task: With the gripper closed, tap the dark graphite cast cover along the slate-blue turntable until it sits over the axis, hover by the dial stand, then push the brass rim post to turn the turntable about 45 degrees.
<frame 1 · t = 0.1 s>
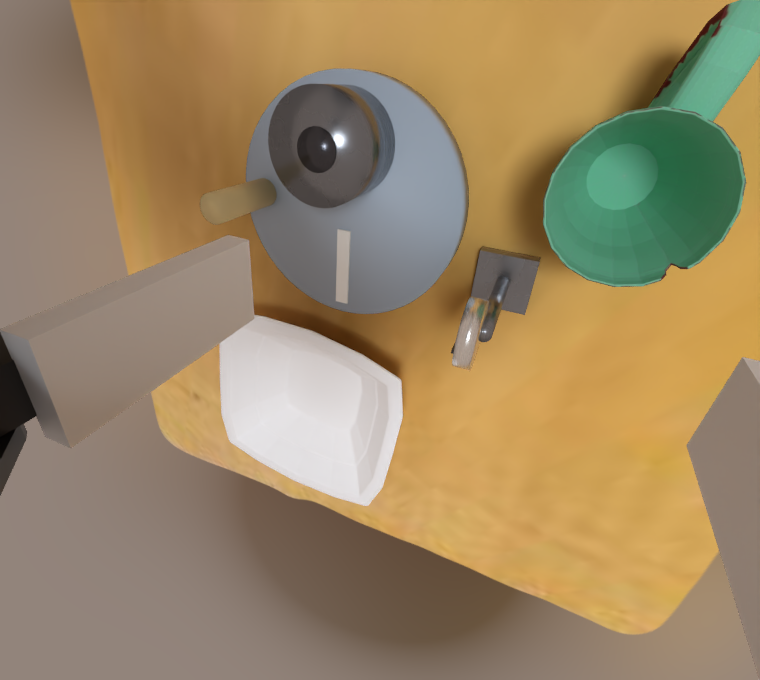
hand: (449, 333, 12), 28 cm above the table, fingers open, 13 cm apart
bowl: (325, 387, 54), on the table
cover: (347, 143, 34), point 4 cm above the table, touching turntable
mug: (640, 143, 31), on the table
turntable: (333, 212, 35), point 7 cm above the table, hinge at 0.0°, touching cover
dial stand: (504, 278, 39), on the table
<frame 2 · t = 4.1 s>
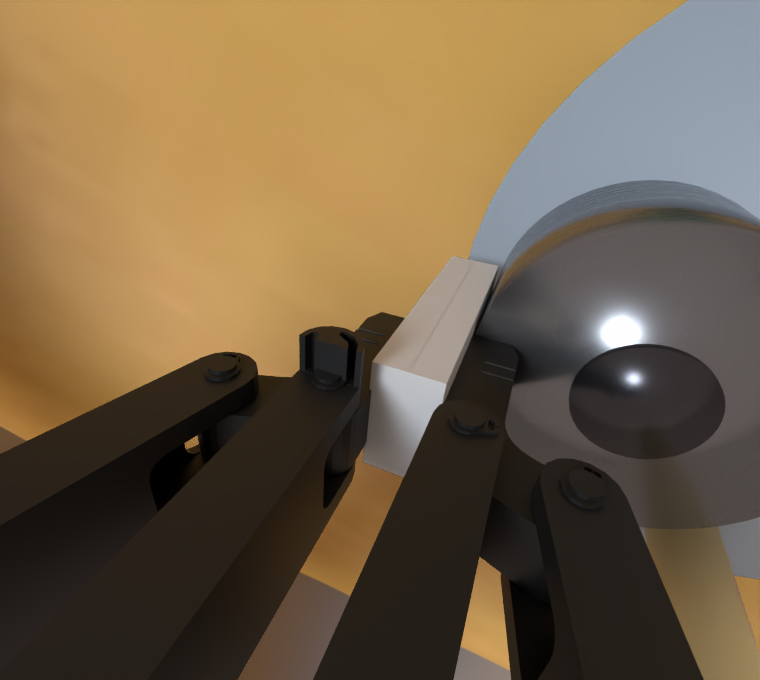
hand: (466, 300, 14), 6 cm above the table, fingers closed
cover: (622, 311, 14), point 4 cm above the table, touching gripper, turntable
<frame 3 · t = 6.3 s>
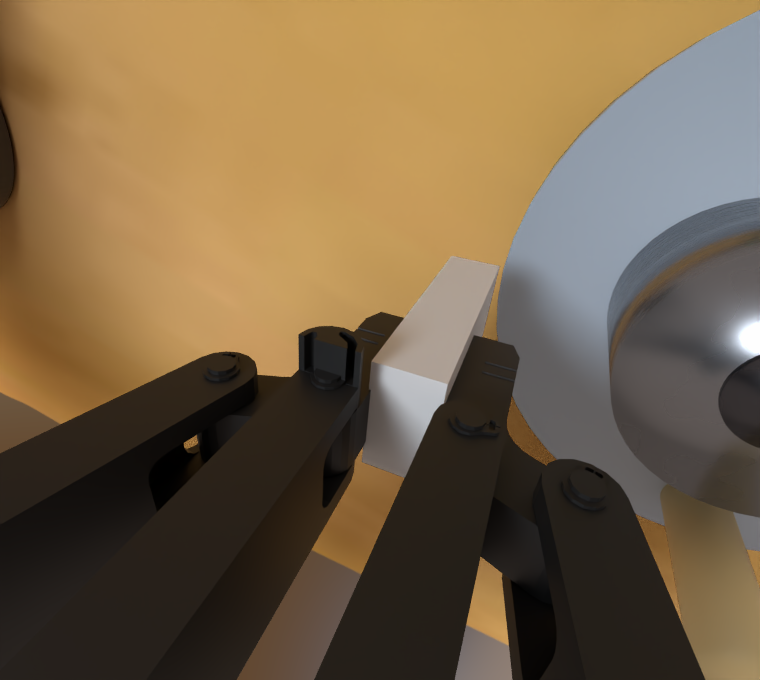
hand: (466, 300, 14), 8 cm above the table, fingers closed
cover: (739, 318, 15), point 4 cm above the table, touching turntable
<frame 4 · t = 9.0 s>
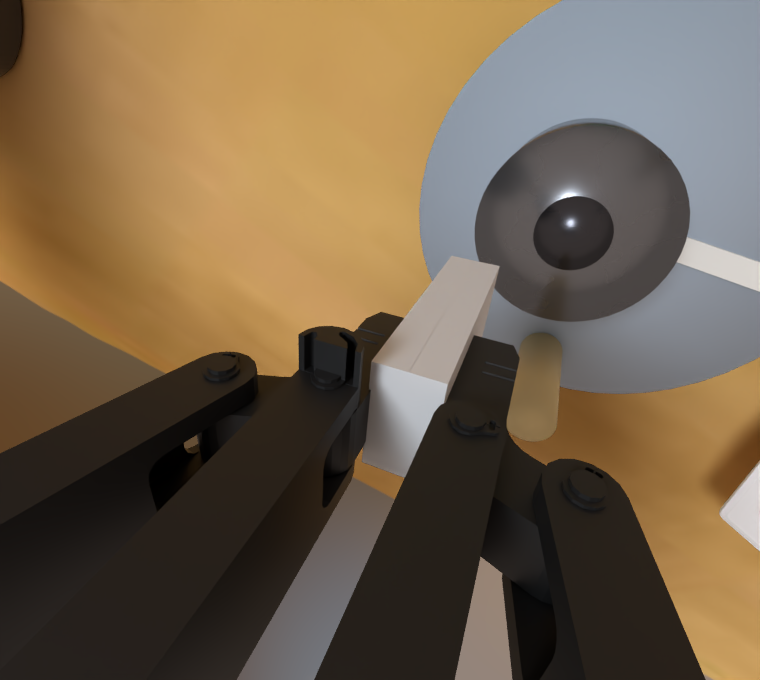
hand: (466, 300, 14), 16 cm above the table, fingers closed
cover: (574, 207, 22), point 4 cm above the table, touching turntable
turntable: (614, 236, 20), point 7 cm above the table, hinge at -0.2°, touching cover
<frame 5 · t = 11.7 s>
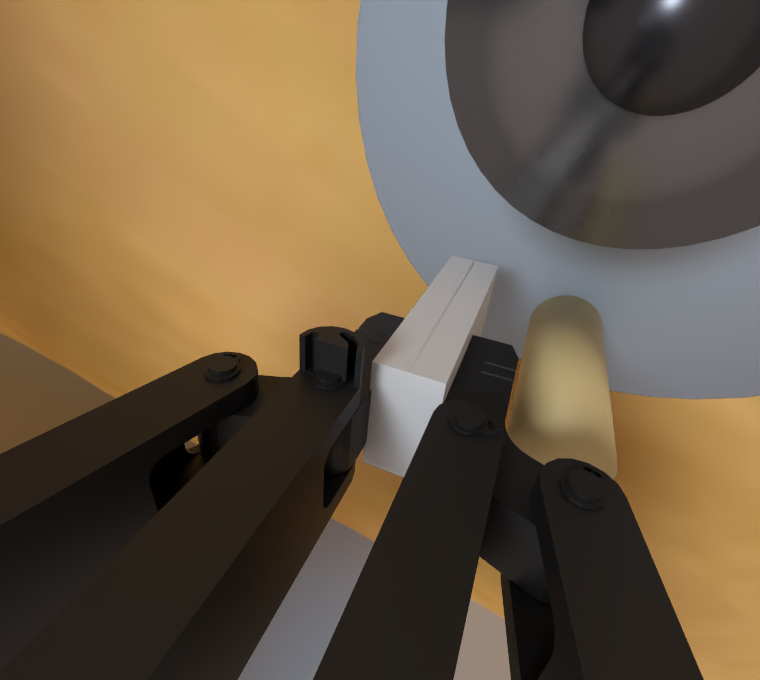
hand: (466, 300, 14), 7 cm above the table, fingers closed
cover: (641, 40, 11), point 4 cm above the table, touching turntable
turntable: (744, 68, 9), point 7 cm above the table, hinge at -0.1°, touching cover, gripper
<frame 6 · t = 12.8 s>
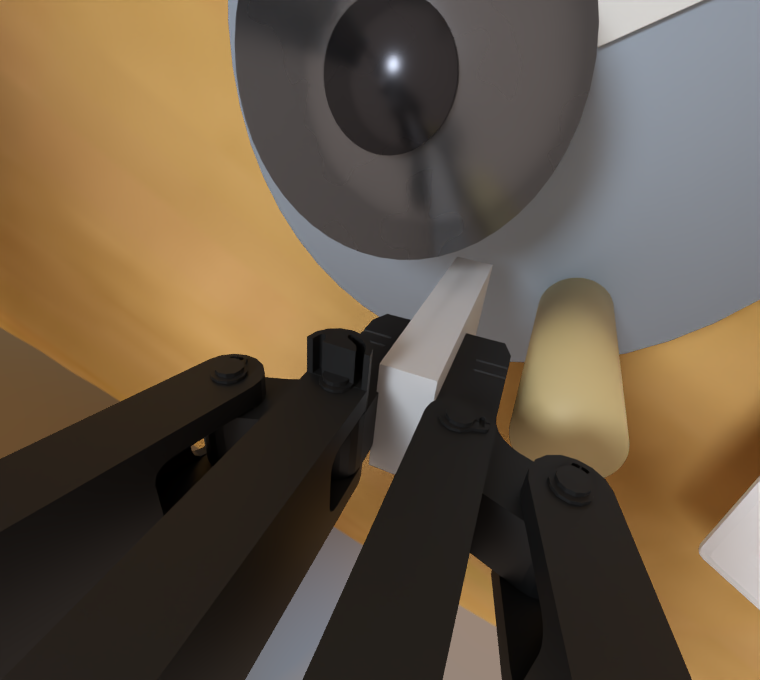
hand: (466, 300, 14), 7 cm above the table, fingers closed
cover: (448, 83, 13), point 4 cm above the table, touching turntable
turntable: (504, 53, 11), point 7 cm above the table, hinge at 38.0°, touching cover, gripper
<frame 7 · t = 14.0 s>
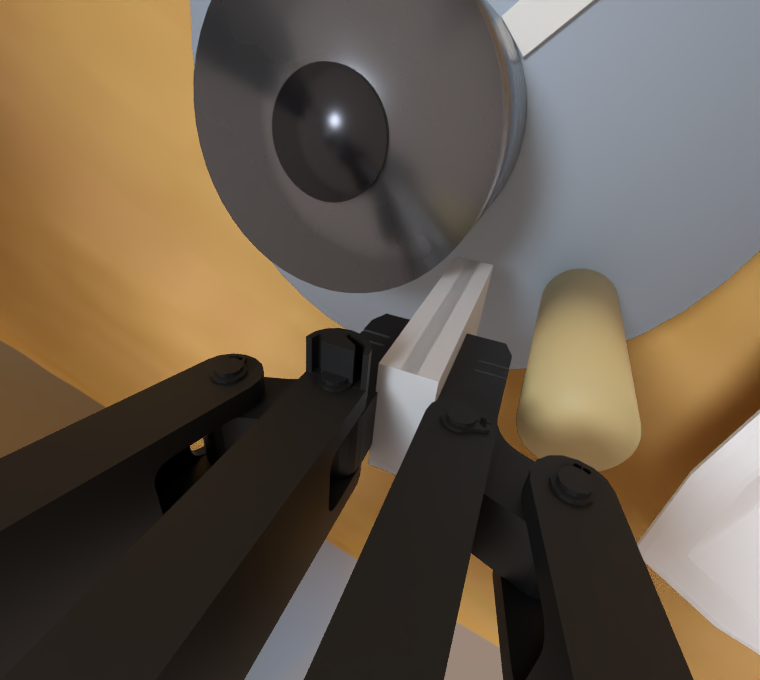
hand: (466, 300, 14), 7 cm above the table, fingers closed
cover: (400, 125, 14), point 4 cm above the table, touching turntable
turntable: (433, 85, 12), point 7 cm above the table, hinge at 53.5°, touching cover, gripper
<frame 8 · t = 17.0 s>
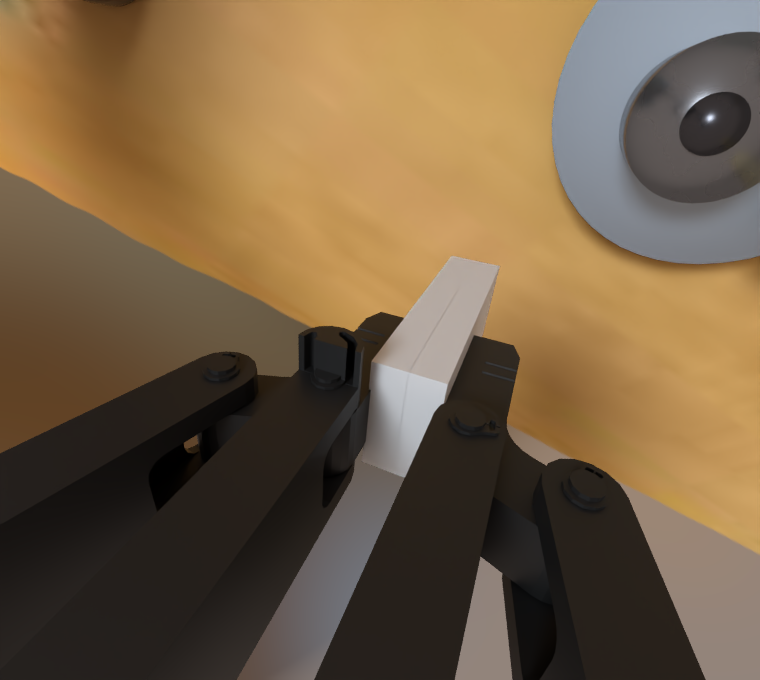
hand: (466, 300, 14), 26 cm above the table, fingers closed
cover: (692, 119, 27), point 4 cm above the table, touching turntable
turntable: (745, 101, 24), point 7 cm above the table, hinge at 53.5°, touching cover
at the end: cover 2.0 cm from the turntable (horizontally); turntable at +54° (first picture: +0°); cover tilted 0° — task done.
